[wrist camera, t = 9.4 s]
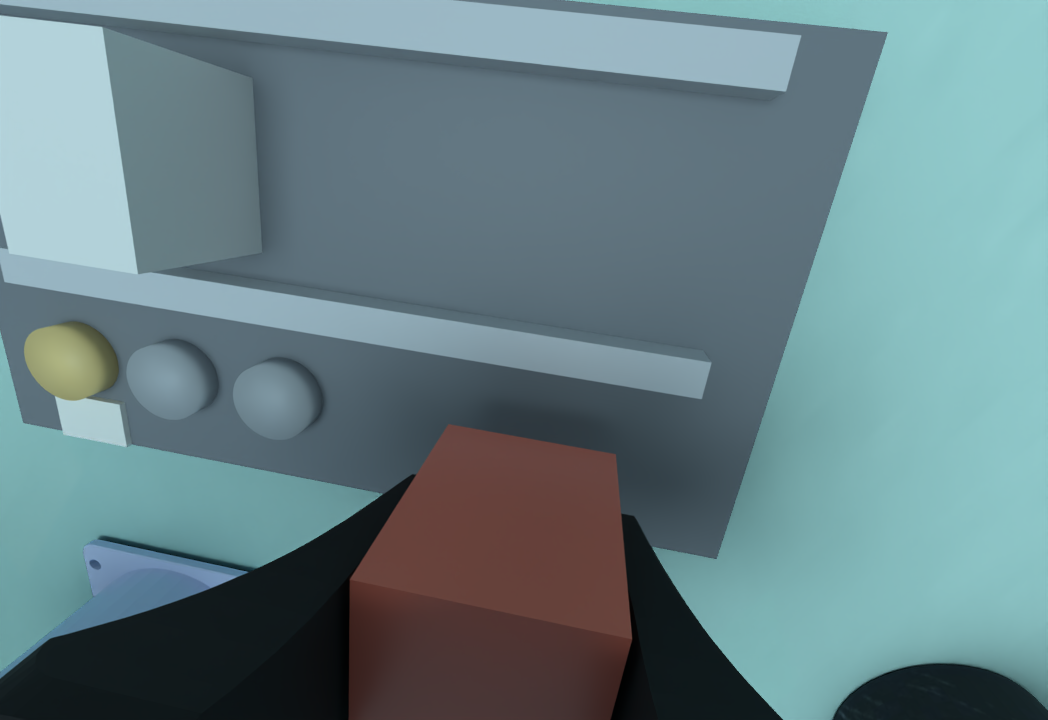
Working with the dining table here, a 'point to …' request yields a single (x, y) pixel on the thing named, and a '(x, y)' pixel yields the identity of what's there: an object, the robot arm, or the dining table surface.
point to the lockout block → (494, 588)
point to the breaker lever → (122, 151)
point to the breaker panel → (470, 244)
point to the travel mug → (941, 696)
